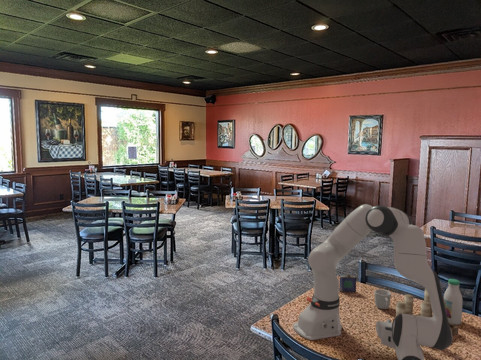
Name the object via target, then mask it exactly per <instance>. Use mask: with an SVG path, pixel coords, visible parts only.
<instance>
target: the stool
mask: <svg viewBox="0 0 481 360" xmlns="http://www.w3.org/2000/svg"><path fill="white" fill-rule="evenodd" d="M423 294H424V297H423V299H424V300H423V301H421V302H420V311H419V312H420V313H418V314H413V313H414V312H413V311H414V296H413V295H411V294H404V301H403V302H405V303H406V310H405V314H409V315H415V316H422V317H433V312H432V307H431V302H430V297H429V293H428V291H427V290H426V289H425V288H424V293H423ZM449 325H450V328H451V331H452V337H453V336H455V335H458V334H459V331H460V330H459V329H460V328H459V326H458V325H453V324H451V323H449Z"/></svg>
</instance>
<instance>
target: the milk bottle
mask: <svg viewBox="0 0 481 360" xmlns="http://www.w3.org/2000/svg"><path fill="white" fill-rule="evenodd" d="M447 284H448V286H447V288H446V290H445V291H444V294H443V299H444V304H445V308H446V313H447V318H448V322H449V323H451V324H453V325H455V326H458V325H459V326H460V325H461V324H462V318H463V317H462V316H463V296H462V295H463V294H462V293H461V290H460V284H461V283H460V280H458V279H455V278H449V279H448V280H447Z"/></svg>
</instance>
